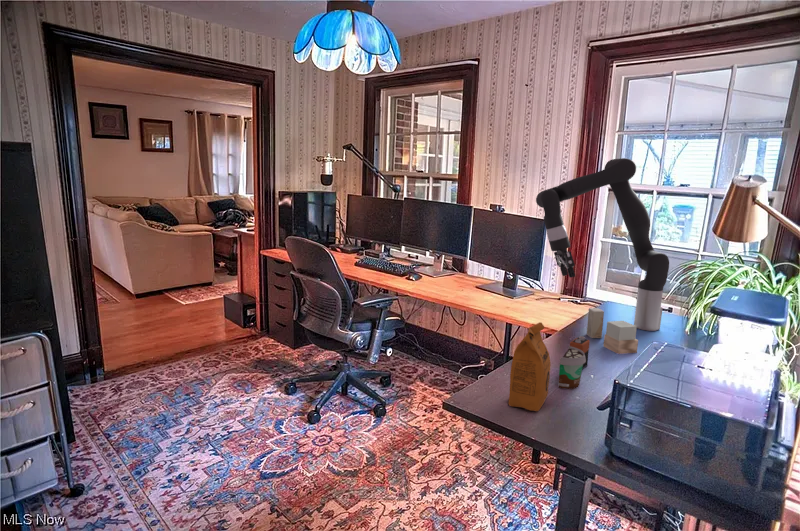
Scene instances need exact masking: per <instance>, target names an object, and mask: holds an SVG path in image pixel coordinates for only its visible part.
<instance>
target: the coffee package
mask: <svg viewBox="0 0 800 531" xmlns="http://www.w3.org/2000/svg"><path fill="white" fill-rule="evenodd" d="M544 329H545V325H544V324H543V323H542V322H538V323H536V324H534V325H532V326H529V327H528V331H527V333H526V335H525V336H524V337H523V338H522V340H521V341H520V342H519V343H518V344H517V346H516V347H515V350H514V352H513V356H512V361H511V362H512V363H511V367H510V374H509V394H508V403H507V404H508V406H510V407H512V408H514V407H515V408H522V409H524V410H527V411H530V412H531V411H535V412H538V411H540V410H541V408H542V406H543V405H544V403H545V402H546V399H547V397H548V395H549V386H550V385H549V384H550V378H551V376H550V374H551V364H552V363H551V358H550V357H551V356H550V352H549V351H548V348H547V346H546V344H545V343H544V341H543V338H542V332H541V331H543V330H544Z"/></svg>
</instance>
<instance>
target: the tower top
mask: <svg viewBox="0 0 800 531" xmlns="http://www.w3.org/2000/svg"><path fill="white" fill-rule="evenodd" d="M637 329H638V328H637V326H635V325H634V324H632V323H630V322H627V321H624V320H612V321H610V320H609V321H607V322H606V329H605V330H606V331H605V334H606V335H608V336H610V337H612V338H614V339H616V340H618V341H621V340H635V339H637V338H636V336H637Z"/></svg>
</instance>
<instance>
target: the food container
mask: <svg viewBox="0 0 800 531" xmlns="http://www.w3.org/2000/svg"><path fill="white" fill-rule="evenodd" d="M567 348H568V349H567V351H566V352H564V354H563V355H562V356H560V358H559V363H558V364H559V368H558V369H559V370H558V383H557V384H558V386H557V388H558V389H562V390H563V389H564V390H574V389H575V390H576V389H577V388H579V386H580V382H581V376H582V372H583V369H582V367H583V364H584V363H585V362H586V358H585V354H584V352H583V351H582V350H580V349H578V348H575V347H571V346H570V345H568V347H567Z"/></svg>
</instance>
